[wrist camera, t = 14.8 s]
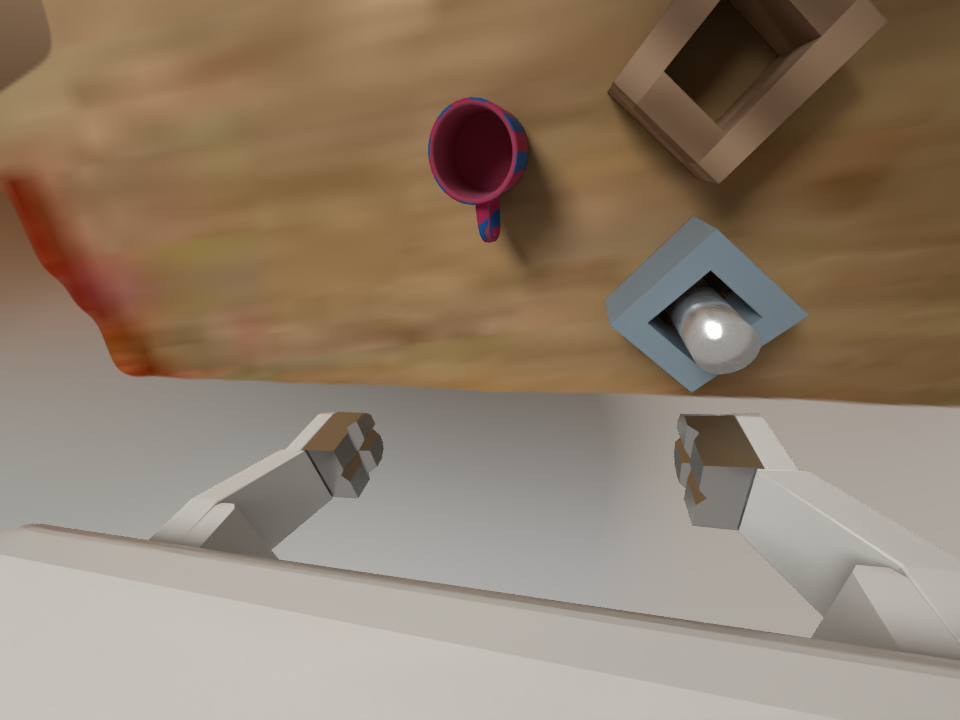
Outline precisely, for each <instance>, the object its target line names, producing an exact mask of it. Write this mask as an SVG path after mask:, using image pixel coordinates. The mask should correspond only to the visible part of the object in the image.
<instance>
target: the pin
mask: <svg viewBox="0 0 960 720" xmlns="http://www.w3.org/2000/svg"><path fill="white" fill-rule="evenodd" d="M665 310H666V312H667V314H668V316H669V317H670V319H671V321H672V323H673V324H674V326H675V328H676V329H677V331H678V333H679V335H680V336H681V338H682V340H683V341H684V343H685V345H686V347H687V348H688V350H689V352H690V353H691V355H692V357H693V359H694V360H695V362H696V364H697V365H698V366H699V367H700V368H701V369H703V370H705V371H707V372H710V373H714V374H728V373H732V372H736V371H738V370H741V369H743V368H744V367H746V366H747V365H749V364H750V363H751V362H752V361H753V360H754V359H755V358H756V356H757V355H758V353H759V351H760V347H761V340H760V337H759V335H758V333H757V332H756V331H755V330H754V329H753V328H752V327H751V326H750V325H749V324H748V323H747V322H746V321H745V320H744V319H743V318H742V317H741V316H740V315H739V314H738V313H737V312H736V311H735V310H734V309H733V308H732V307H731V306H730V305H729V304H728V303H727V302H726V301H725V300H724V299H723V298H722V297H721V296H720V295H719V294H718V293H717V292H716V291H715V290H714V289H713V288H712V287H711V286H710V285H709V284H708V283H707V282H706V281H705V280H704V279H703V278H701V279H700V280H698V281H697V282H696V283H695V284H694V285H692V286H691V287H690V288H689V289H688V290H686V291H685V292H684V293H683V294H682V295H680V296H679V297H678V298H677V299H676V300H674V301H673V302H672V303H671V304H670V305H668V306H667V307H666V308H665Z"/></svg>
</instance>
